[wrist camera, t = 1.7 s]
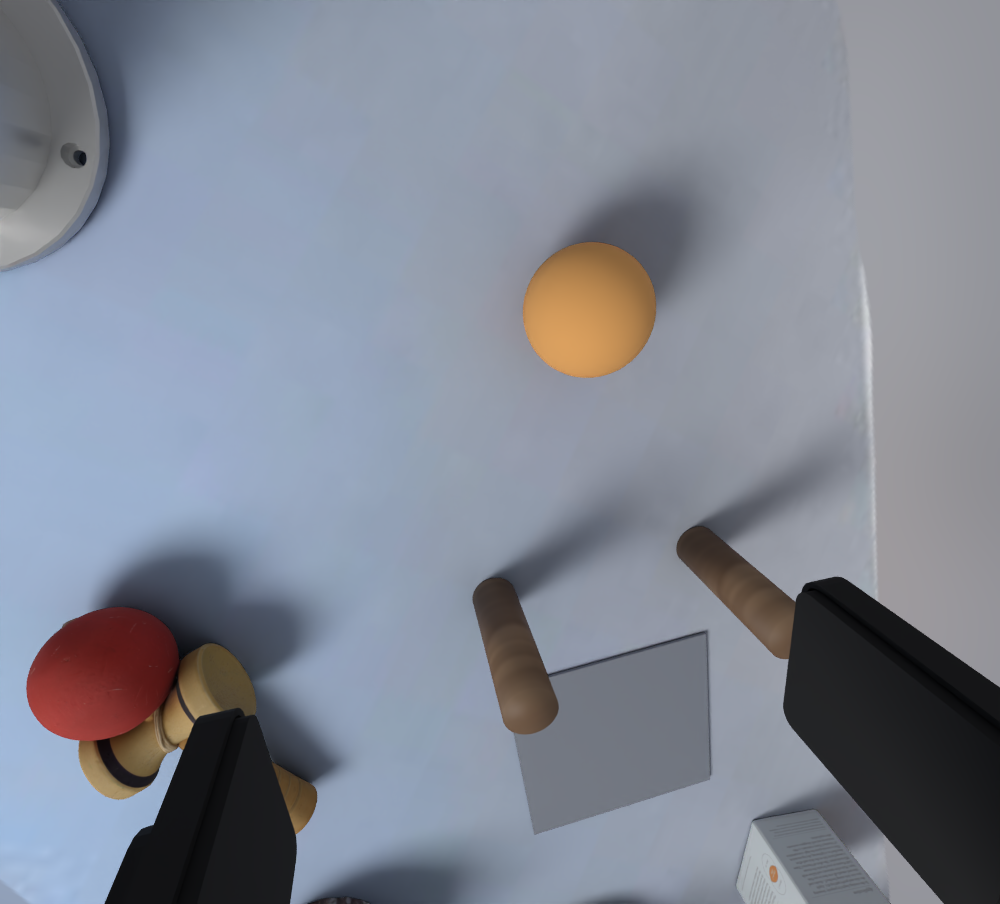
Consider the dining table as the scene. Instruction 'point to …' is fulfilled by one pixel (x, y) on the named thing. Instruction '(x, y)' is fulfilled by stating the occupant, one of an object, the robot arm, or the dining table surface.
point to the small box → (802, 864)
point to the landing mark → (620, 734)
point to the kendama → (139, 699)
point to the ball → (589, 309)
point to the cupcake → (340, 901)
